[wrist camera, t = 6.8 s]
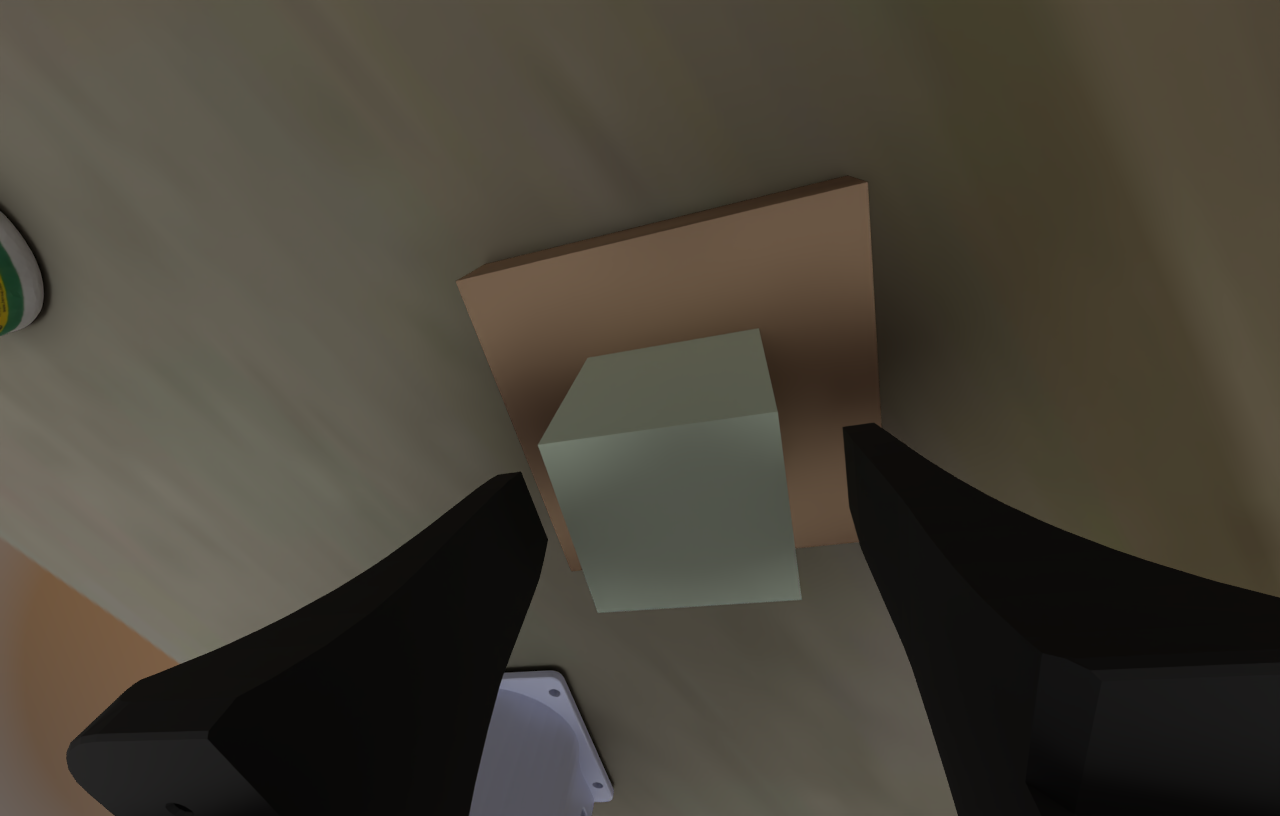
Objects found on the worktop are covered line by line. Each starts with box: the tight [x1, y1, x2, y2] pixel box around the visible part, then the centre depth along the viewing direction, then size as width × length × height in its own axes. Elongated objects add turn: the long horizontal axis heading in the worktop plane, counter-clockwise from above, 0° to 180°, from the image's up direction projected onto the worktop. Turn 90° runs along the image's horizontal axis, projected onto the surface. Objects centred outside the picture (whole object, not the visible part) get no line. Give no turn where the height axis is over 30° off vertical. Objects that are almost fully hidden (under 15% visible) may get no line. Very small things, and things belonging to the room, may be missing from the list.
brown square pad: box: [456, 175, 882, 571], centre depth 16 cm, size 10×10×2 cm
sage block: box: [538, 328, 802, 613], centre depth 13 cm, size 4×4×4 cm
